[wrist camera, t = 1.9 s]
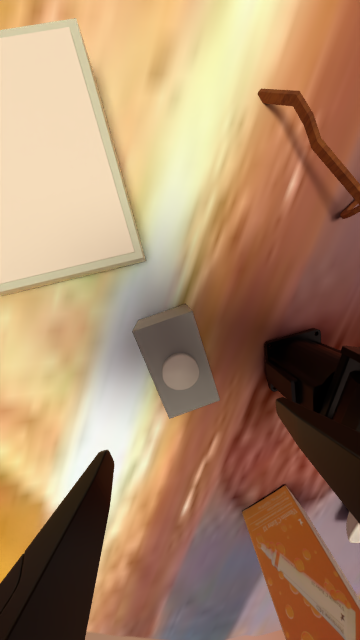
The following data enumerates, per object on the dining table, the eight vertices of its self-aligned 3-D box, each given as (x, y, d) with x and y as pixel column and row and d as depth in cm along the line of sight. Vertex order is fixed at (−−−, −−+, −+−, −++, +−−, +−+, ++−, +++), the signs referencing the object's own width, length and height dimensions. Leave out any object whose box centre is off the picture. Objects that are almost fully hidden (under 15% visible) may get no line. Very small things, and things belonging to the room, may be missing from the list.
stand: (94, 76, 12) (74, 12, 9) (146, 261, 16) (143, 257, 13) (-96, 109, 11) (-181, 53, 9) (2, 295, 15) (-36, 300, 12)
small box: (284, 482, 25) (407, 683, 13) (300, 503, 27) (422, 699, 14) (239, 511, 26) (316, 733, 13) (258, 529, 27) (342, 743, 15)
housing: (185, 303, 17) (194, 312, 13) (208, 376, 20) (223, 406, 15) (138, 319, 17) (130, 334, 12) (167, 390, 19) (169, 426, 15)
